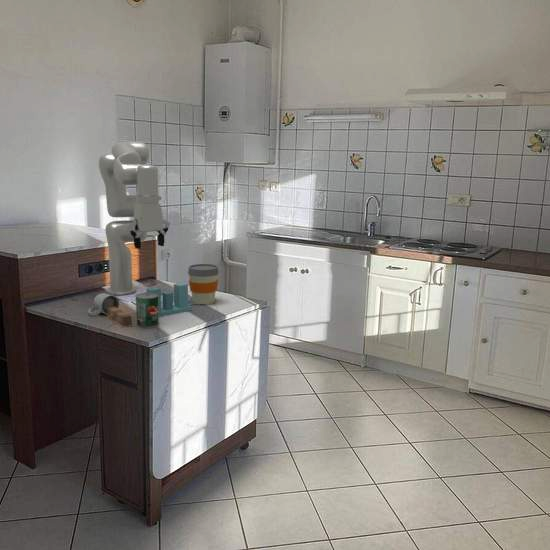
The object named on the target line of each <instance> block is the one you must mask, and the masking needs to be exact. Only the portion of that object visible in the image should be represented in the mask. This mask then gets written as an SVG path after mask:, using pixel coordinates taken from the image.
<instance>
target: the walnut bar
mask: <svg viewBox="0 0 550 550" xmlns="http://www.w3.org/2000/svg"><path fill="white" fill-rule="evenodd" d="M106 317H107V318H108V317H109V318H111V319H112V320H111V319H110V320H111V321H113V320H114V321H116V322H117V323H116V322H115V323H116V324H118V323H119V324H120V325H119V324H118V325H119V326H121V325H122V326H123V328H125V327H124V326H127V327H130V326H129V325H132V315H131V314H129V313H127V312H126V311H124V310H122V309H120V308H116V307H115V306H113V307H107V315H106ZM109 318H108V319H109ZM114 321H113V322H114ZM122 326H121V327H122Z"/></svg>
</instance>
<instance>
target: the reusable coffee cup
mask: <svg viewBox="0 0 550 550" xmlns="http://www.w3.org/2000/svg"><path fill="white" fill-rule="evenodd" d="M187 272H188V273H187V275H188V277H189V279H188V283H189V284H188V286H189V290H190V292H191V298H192V303H193V302H194V303H193V304H195V305H200V304H204V305H205V304H206V305H212V304H214V303H215V298H216V292H217V290H218V283H219V282H218V281H219V279H218V275H219V266H218V265H215V264H210V263H197V264H191V265H189V266H188V271H187ZM211 303H212V304H211ZM204 305H203V306H204Z"/></svg>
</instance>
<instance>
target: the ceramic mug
mask: <svg viewBox="0 0 550 550" xmlns="http://www.w3.org/2000/svg"><path fill="white" fill-rule="evenodd" d="M119 300H120V299H118V297H117V295H111V294H108V293H107V292H106V293H105V292H103V293H98V294H97V295H96V296H95V297H94V299H93V306H92V307H90V308H89V309H88V311H87V312H88V313H89V315H90V316H91V317H95V316H98V315H99V314H101V313H102V314H104V315H106V316H107V307H113V306H115V307H116V308H118V309H120V301H119Z"/></svg>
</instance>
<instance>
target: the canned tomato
mask: <svg viewBox="0 0 550 550" xmlns="http://www.w3.org/2000/svg"><path fill="white" fill-rule="evenodd" d="M135 309H136V314H135V315H136V326H137V327H138V326H139V327H138V328H142V327H150V328H155V327H157V325H158V326H159V325H160V323H159V319H160V317H159V316H158V315H159V314H158V294H156V293H146V292H140V293H137V294H136V295H135ZM154 326H155V327H154Z"/></svg>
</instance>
